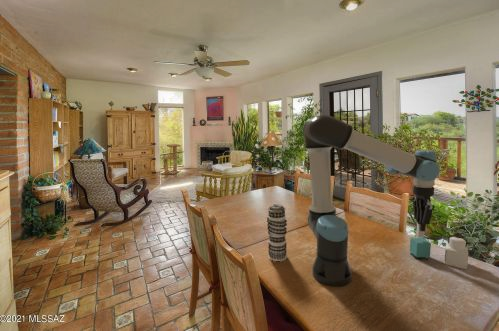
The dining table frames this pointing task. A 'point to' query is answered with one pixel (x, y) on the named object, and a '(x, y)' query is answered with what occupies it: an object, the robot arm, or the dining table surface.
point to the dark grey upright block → (419, 257)
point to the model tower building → (277, 233)
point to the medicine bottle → (456, 252)
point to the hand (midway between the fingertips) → (420, 236)
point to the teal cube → (420, 247)
